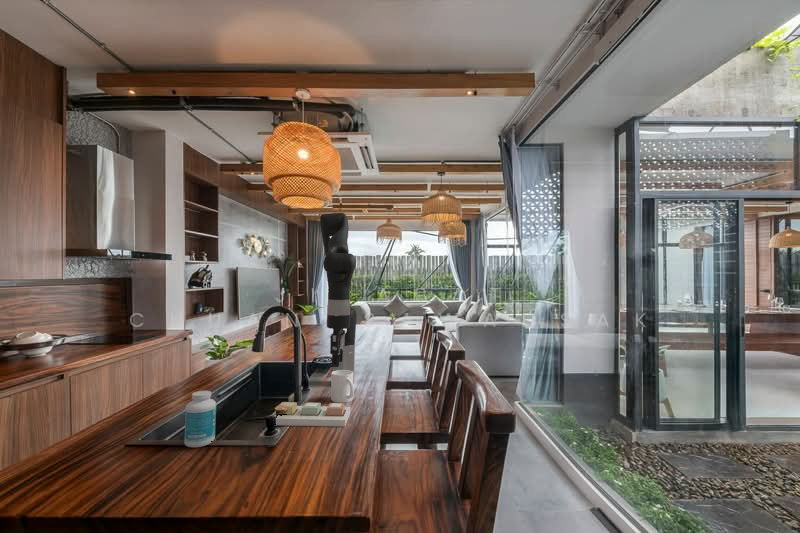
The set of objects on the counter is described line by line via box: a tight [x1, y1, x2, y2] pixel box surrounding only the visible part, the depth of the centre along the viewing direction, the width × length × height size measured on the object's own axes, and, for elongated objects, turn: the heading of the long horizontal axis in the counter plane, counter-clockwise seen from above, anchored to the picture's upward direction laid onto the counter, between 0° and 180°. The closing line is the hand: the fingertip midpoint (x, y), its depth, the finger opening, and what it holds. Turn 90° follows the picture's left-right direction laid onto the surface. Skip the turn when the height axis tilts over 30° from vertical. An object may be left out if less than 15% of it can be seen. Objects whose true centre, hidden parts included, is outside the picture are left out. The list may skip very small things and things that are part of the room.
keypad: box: [271, 405, 351, 427], centre depth 120 cm, size 12×24×2 cm, turn 90°
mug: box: [330, 370, 355, 404], centre depth 138 cm, size 12×8×10 cm
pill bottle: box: [183, 390, 217, 448], centre depth 101 cm, size 8×7×14 cm
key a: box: [327, 402, 346, 416], centre depth 120 cm, size 5×5×2 cm
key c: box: [278, 401, 298, 415], centre depth 120 cm, size 5×5×2 cm
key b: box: [302, 402, 322, 416], centre depth 120 cm, size 5×5×2 cm
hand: (337, 364), depth 120 cm, fingers open, 6 cm apart
